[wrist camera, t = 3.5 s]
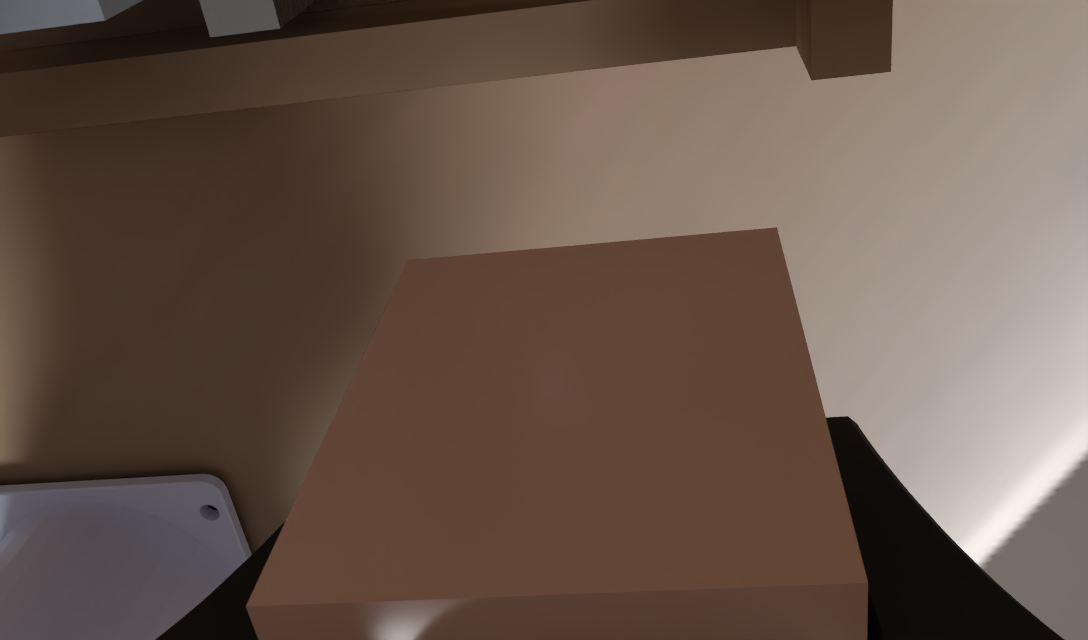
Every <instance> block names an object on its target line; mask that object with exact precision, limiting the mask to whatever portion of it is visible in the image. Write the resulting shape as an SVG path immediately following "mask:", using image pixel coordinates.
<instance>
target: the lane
mask: <svg viewBox="0 0 1088 640" xmlns="http://www.w3.org/2000/svg"><path fill="white" fill-rule="evenodd" d="M892 7H893V0H407V1H399V2H391V3H383V4H375V5H367V6H360V7H352V8H344V9H336V10H328V11H320V12H313V13H305V14H298V15H296V16H295V17H294V18H293V19H291V20H290V21H289V22H288V23H286V24H285V25H284V26H283V27H282V28H280V29H272V30H264V31H257V32H249V33H241V34H233V35H225V36H217V37H210V35H209V31H208V28H207V26H203V27H195V28H187V29H180V30H172V31H164V32H156V33H148V34H140V35H133V36H125V37H117V38H109V39H101V40H93V41H86V42H78V43H70V44H62V45H54V46H47V47H39V48H31V49H23V50H15V51H7V52H0V137H3V136H12V135H21V134H30V133H39V132H47V131H56V130H65V129H74V128H82V127H91V126H100V125H109V124H117V123H126V122H135V121H144V120H152V119H161V118H170V117H179V116H187V115H196V114H205V113H214V112H222V111H231V110H240V109H249V108H258V107H266V106H275V105H284V104H293V103H301V102H310V101H319V100H328V99H336V98H345V97H354V96H363V95H371V94H380V93H389V92H398V91H406V90H415V89H424V88H433V87H442V86H450V85H459V84H468V83H477V82H485V81H494V80H503V79H512V78H520V77H529V76H538V75H547V74H555V73H564V72H573V71H582V70H590V69H599V68H608V67H617V66H626V65H634V64H643V63H652V62H661V61H669V60H678V59H687V58H696V57H704V56H713V55H722V54H731V53H739V52H748V51H757V50H766V49H774V48H783V47H792V46H796V47H797V49H798V51H799V53H800V56H801V58H802V60H803V62H804V64H805V67H806V69H807V71H808V73H809V76H810V78H811V80H819V79H828V78H837V77H846V76H855V75H865V74H874V73H883V72H891V47H892Z"/></svg>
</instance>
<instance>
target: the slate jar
mask: <svg viewBox="0 0 1088 640" xmlns="http://www.w3.org/2000/svg"><path fill="white" fill-rule="evenodd" d="M141 1H143V0H0V34H6V33H14V32H22V31H29V30H37V29H45V28H52V27H60V26H68V25H75V24H83V23H91V22H98V21H105V20H107V19H109V18H111V17H113V16H115V15H116V14H118V13H120V12H122V11H124V10H126V9H128V8H130V7H131V6H133V5H135V4H137V3H139V2H141Z"/></svg>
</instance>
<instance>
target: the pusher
mask: <svg viewBox="0 0 1088 640" xmlns="http://www.w3.org/2000/svg"><path fill="white" fill-rule="evenodd" d="M314 1H315V0H199V2H200V5H201V8H202V11H203V15H204V18H205V21H206V25H207V28H208V31H209V35H210V37H217V36H225V35H233V34H241V33H249V32H257V31H264V30H272V29H280V28H282V27H283V26H284V25H285V24H286V23H288V22H289V21H290V20H291V19H293V18H294V17H295V16H296V15H298V14H299V13H300V12H301V11H303V10H304V9H305V8H306V7H308V6H309V5H310V4H311V3H312V2H314Z"/></svg>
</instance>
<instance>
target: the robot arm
mask: <svg viewBox="0 0 1088 640" xmlns="http://www.w3.org/2000/svg"><path fill="white" fill-rule="evenodd" d="M826 421H827V425H828V429H829V433H830V436H831V440H832V444H833V448H834V452H835V456H836V460H837V464H838V468H839V471H840V475H841V479H842V483H843V487H844V491H845V495H846V499H847V503H848V506H849V510H850V514H851V518H852V522H853V526H854V530H855V534H856V538H857V541H858V545H859V549H860V553H861V557H862V561H863V565H864V569H865V573H866V576H867V580H868V621H867V640H1064V639H1063V638H1062V637H1060V636H1059V635H1058V634H1056V633H1055V632H1054V631H1053V630H1051V629H1050V628H1049V627H1048V626H1046V625H1045V624H1044V623H1043V622H1041V621H1040V620H1039V619H1038V618H1037V617H1035V616H1034V615H1033V614H1032V613H1031V612H1029V611H1028V610H1027V609H1026V608H1025V607H1023V606H1022V605H1021V604H1020V603H1019V602H1018V601H1016V600H1015V599H1014V598H1013V597H1012V596H1011V595H1010V594H1008V593H1007V592H1006V591H1005V590H1004V589H1003V588H1002V587H1001V586H999V585H998V584H997V583H996V582H995V581H994V580H993V579H992V578H991V577H990V576H989V575H988V574H987V573H986V572H984V570H983V569H981V568H980V567H979V566H978V565H977V564H976V563H975V562H974V561H973V560H972V559H971V558H970V557H969V556H968V555H967V554H966V553H965V552H964V551H963V550H962V549H961V548H960V547H959V546H958V545H957V544H956V543H955V542H954V541H953V540H952V539H951V538H950V537H949V536H948V535H947V534H946V533H945V531H944V530H943V529H942V528H941V527H940V526H939V525H938V524H937V523H936V522H935V521H934V519H933V518H932V517H931V516H930V515H929V514H928V513H927V512H926V511H925V509H924V508H923V507H922V506H921V505H920V504H919V503H918V502H917V501H916V500H915V498H914V497H913V496H912V495H911V494H910V493H909V491H908V490H907V489H906V488H905V487H904V486H903V484H902V483H901V482H900V481H899V479H898V478H897V477H896V476H895V475H894V473H893V472H892V471H891V470H890V468H889V467H888V466H887V465H886V463H885V462H884V461H883V459H882V458H881V457H880V456H879V454H878V453H877V452H876V450H875V449H874V448H873V446H872V445H871V444H870V442H869V441H868V439H867V438H866V437H865V435H864V434H863V432H862V431H861V429H860V428H859V426H858V425H857V424H856V423H855V422H854V421H853V420H852V419H850V418H849V417H848V416H846V417H830V418H826ZM207 505H211V506H213V507H215V508H217V510H218V511H217V510H213V509H211V508H209V507H208V506H207ZM285 522H286V521H285ZM285 522H284V523H283V524H282V525H281V526H280V527H279V528H278V529H277V530H276V531H275V532H274V534H273V535H272V536H271V537H270V538H269V539H268V540H267V541H266V542H265V543H264V544H263V545H262V546H261V547H260V548H259V549H258V550H257V551H255V552H254V553H253V554H251V551H250V548H249V546H248V543H247V540H246V538H245V535H244V532H243V530H242V527H241V524H240V522H239V519H238V516H237V514H236V511H235V508H234V505H233V503H232V500H231V497H230V495H229V492H228V489H227V487H226V486H225V484H224V482H222V481H221V480H220V479H219V478H217V477H215V476H213V475H209V474H192V475H174V476H157V477H140V478H123V479H105V480H88V481H71V482H54V483H36V484H19V485H2V486H0V640H258V637H257V635H256V632H255V629H254V627H253V624H252V622H251V619H250V616H249V614H248V611H247V609H246V605H247V603H248V601H249V598H250V596H251V594H252V592H253V590H254V588H255V586H256V584H257V581H258V579H259V577H260V575H261V573H262V571H263V569H264V566H265V564H266V562H267V560H268V558H269V556H270V554H271V551H272V549H273V547H274V545H275V543H276V541H277V539H278V537H279V534H280V532H281V530H282V528H283V526H284V524H285Z"/></svg>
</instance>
